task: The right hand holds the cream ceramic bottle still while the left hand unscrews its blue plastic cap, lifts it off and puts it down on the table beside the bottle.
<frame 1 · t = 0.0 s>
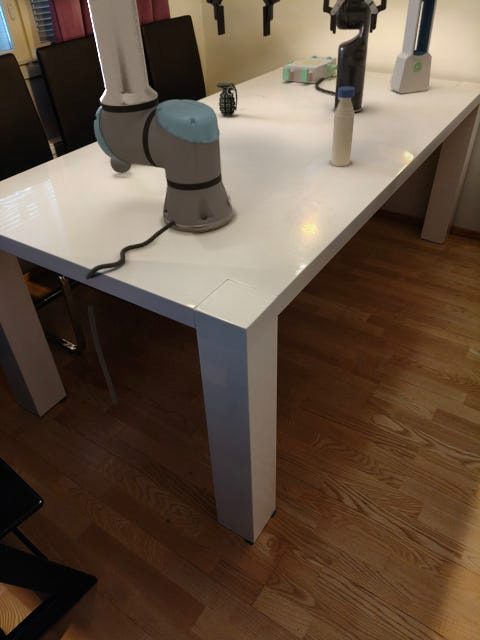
left hand: (243, 35, 129), 28 cm above the table, tool pointing down, fingers open, 13 cm apart
right hand: (352, 32, 115), 29 cm above the table, tool pointing down, fingers open, 8 cm apart
bottle: (340, 163, 129), on the table
molecular model: (146, 158, 139), on the table
cap: (346, 89, 118), point 18 cm above the table, screwed on, not yet turned
electronic device: (408, 90, 185), on the table
decorative block: (309, 78, 209), on the table
grenade: (228, 115, 169), on the table
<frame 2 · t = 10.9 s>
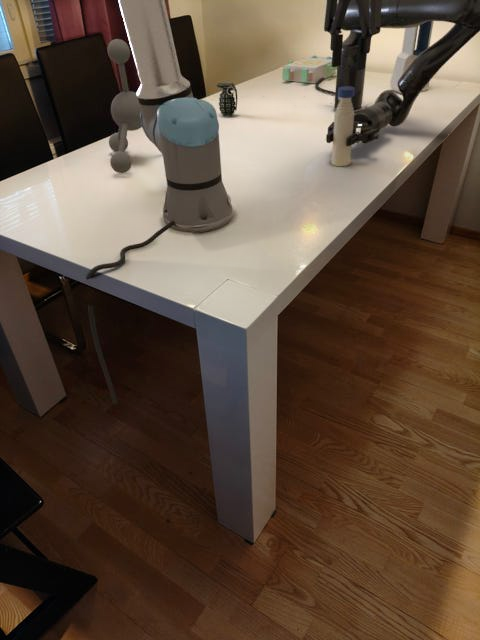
left hand: (348, 67, 115), 23 cm above the table, tool pointing down, fingers open, 6 cm apart
right hand: (337, 140, 123), 7 cm above the table, tool horizontal, fingers closed on bottle, 5 cm apart
bottle: (340, 163, 129), on the table, touching right hand
everything else where it was.
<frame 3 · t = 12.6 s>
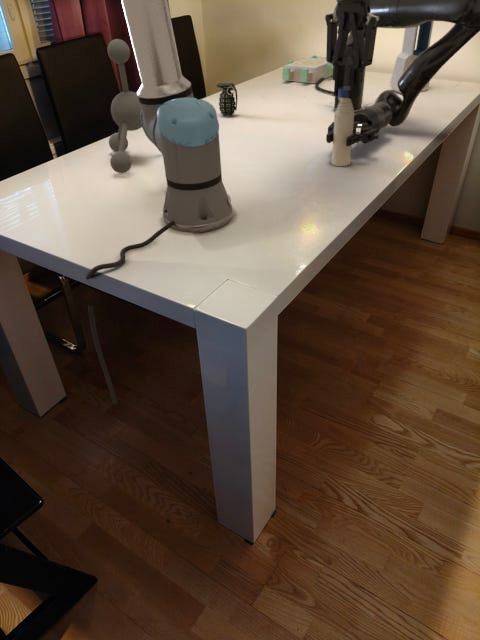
left hand: (345, 96, 119), 17 cm above the table, tool pointing down, fingers closed on cap, 4 cm apart
right hand: (337, 140, 124), 7 cm above the table, tool horizontal, fingers closed on bottle, 5 cm apart
bottle: (340, 162, 129), on the table, touching right hand
cap: (346, 89, 118), point 18 cm above the table, screwed on, not yet turned, touching left hand
everything else where it was.
when the left hand's fingers open (1 cm above the table, at t = 28.7 s): cap drops 1 cm, point 1 cm above the table.
when the right hand's fingers open (7 cm above the table, at t = 30.0 s): bottle stays where it is, on the table.
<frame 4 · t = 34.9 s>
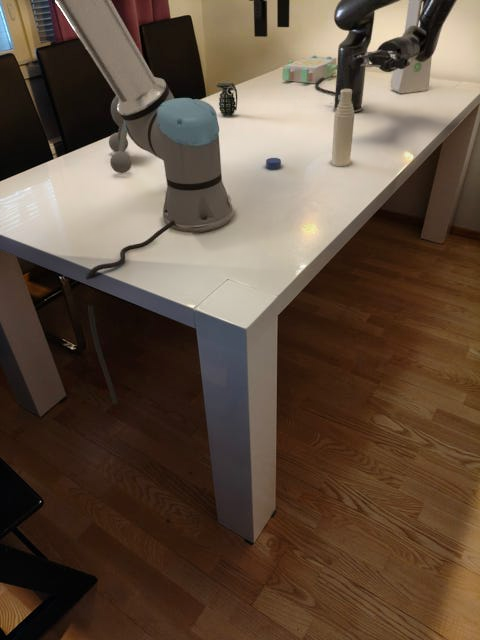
left hand: (272, 31, 110), 31 cm above the table, tool pointing down, fingers open, 13 cm apart
right hand: (369, 65, 123), 21 cm above the table, tool horizontal, fingers open, 8 cm apart
bottle: (340, 162, 129), on the table
cap: (273, 161, 128), point 1 cm above the table, off its thread
everything else where it was.
at the end: cap came off its thread; cap point 1.5 cm above the table; the left hand is holding nothing; the right hand is holding nothing; bottle tilted 0°; bottle moved 0.0 cm from its start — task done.
